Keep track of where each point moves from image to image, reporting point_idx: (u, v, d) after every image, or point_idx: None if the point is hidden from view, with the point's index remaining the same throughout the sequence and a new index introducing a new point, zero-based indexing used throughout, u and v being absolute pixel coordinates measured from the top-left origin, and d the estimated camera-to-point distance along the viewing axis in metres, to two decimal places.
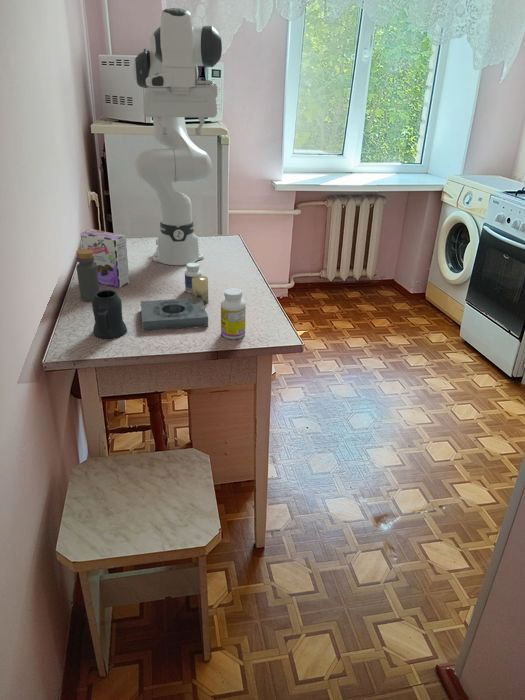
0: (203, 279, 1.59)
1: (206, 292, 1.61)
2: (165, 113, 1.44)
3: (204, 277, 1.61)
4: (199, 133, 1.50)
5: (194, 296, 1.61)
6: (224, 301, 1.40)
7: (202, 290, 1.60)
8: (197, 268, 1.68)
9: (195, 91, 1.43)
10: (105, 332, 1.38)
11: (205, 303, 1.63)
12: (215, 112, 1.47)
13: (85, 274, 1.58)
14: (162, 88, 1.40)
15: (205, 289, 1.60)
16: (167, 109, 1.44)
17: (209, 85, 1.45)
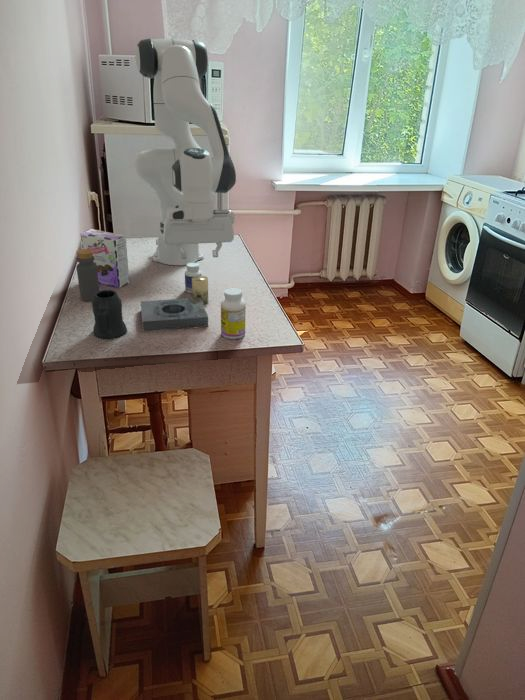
0: (203, 279, 1.59)
1: (206, 292, 1.61)
2: (184, 241, 1.52)
3: (204, 277, 1.61)
4: (216, 256, 1.57)
5: (194, 296, 1.61)
6: (224, 301, 1.40)
7: (202, 290, 1.60)
8: (197, 268, 1.68)
9: (213, 220, 1.51)
10: (105, 332, 1.38)
11: (205, 303, 1.63)
12: (232, 237, 1.55)
13: (85, 274, 1.58)
14: (182, 220, 1.48)
15: (205, 289, 1.60)
16: (187, 237, 1.51)
17: (226, 214, 1.52)
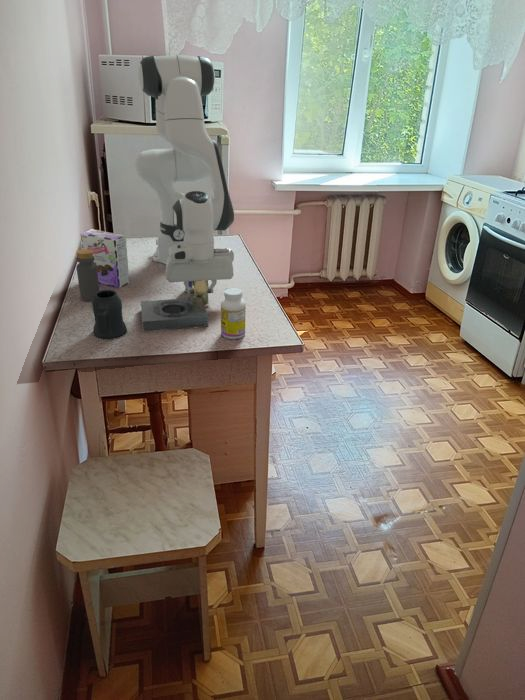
0: None
1: (206, 292, 1.61)
2: (186, 279, 1.58)
3: None
4: (211, 292, 1.63)
5: (194, 296, 1.61)
6: (224, 301, 1.40)
7: (202, 290, 1.60)
8: None
9: (214, 259, 1.57)
10: (105, 332, 1.38)
11: (205, 303, 1.62)
12: (232, 275, 1.60)
13: (85, 274, 1.58)
14: (184, 260, 1.54)
15: (205, 289, 1.60)
16: (188, 275, 1.57)
17: (226, 252, 1.58)
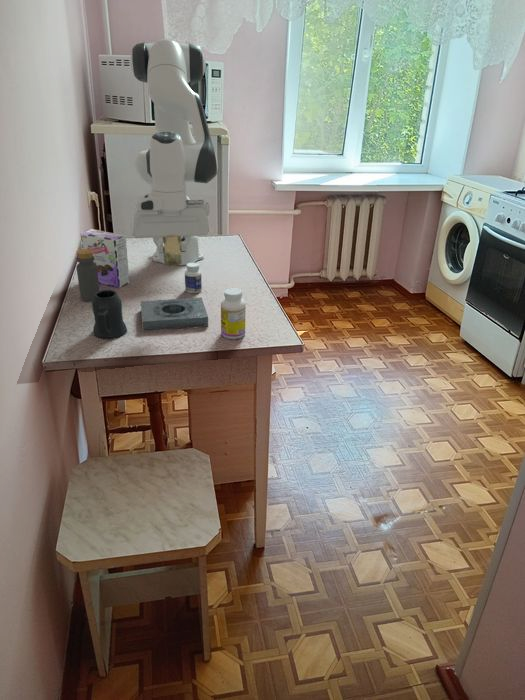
0: None
1: (179, 250, 1.43)
2: (155, 234, 1.39)
3: None
4: (185, 250, 1.44)
5: (165, 255, 1.43)
6: (224, 301, 1.40)
7: (174, 248, 1.42)
8: (197, 268, 1.68)
9: (186, 212, 1.39)
10: (105, 332, 1.38)
11: (178, 263, 1.44)
12: (207, 230, 1.42)
13: (85, 274, 1.58)
14: (152, 211, 1.36)
15: (177, 246, 1.42)
16: (158, 230, 1.39)
17: (201, 204, 1.40)
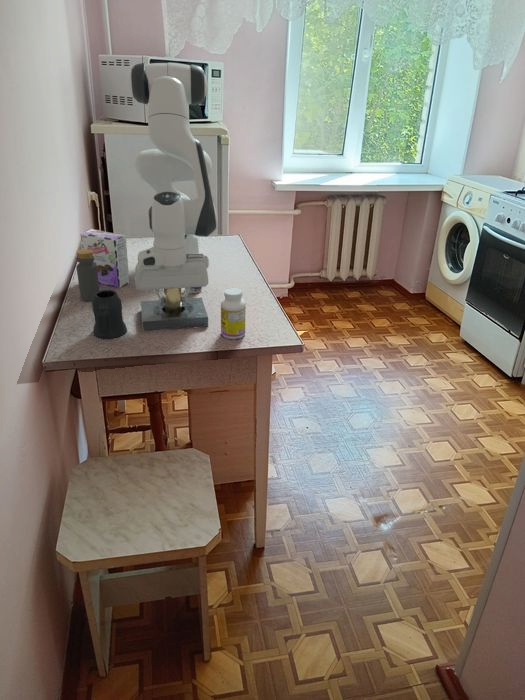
0: None
1: (179, 301, 1.50)
2: (156, 287, 1.46)
3: None
4: (185, 300, 1.51)
5: (166, 305, 1.50)
6: (224, 301, 1.40)
7: (174, 299, 1.48)
8: None
9: (186, 265, 1.45)
10: (105, 332, 1.38)
11: (178, 312, 1.51)
12: (206, 282, 1.49)
13: (85, 274, 1.58)
14: (154, 266, 1.42)
15: (178, 297, 1.49)
16: (159, 282, 1.46)
17: (200, 258, 1.47)
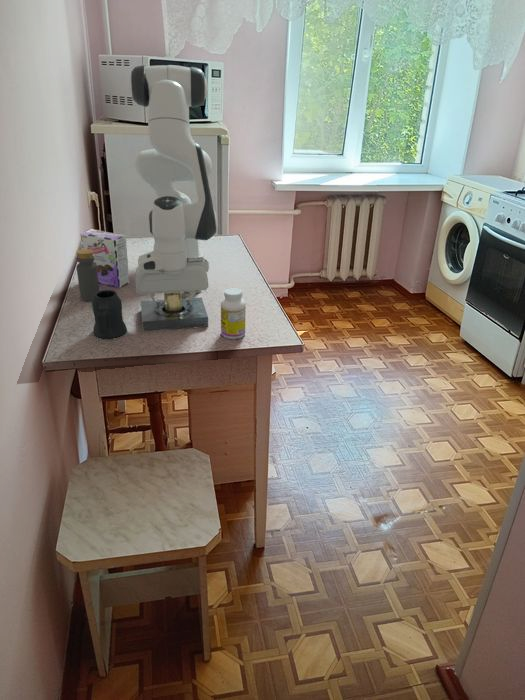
0: (176, 294, 1.49)
1: (180, 308, 1.51)
2: (157, 290, 1.47)
3: None
4: (190, 304, 1.52)
5: (166, 312, 1.51)
6: (224, 301, 1.40)
7: (174, 306, 1.49)
8: None
9: (186, 269, 1.46)
10: (105, 332, 1.38)
11: None
12: (206, 286, 1.50)
13: (85, 274, 1.58)
14: (154, 270, 1.43)
15: (178, 304, 1.50)
16: (159, 286, 1.46)
17: (200, 262, 1.47)
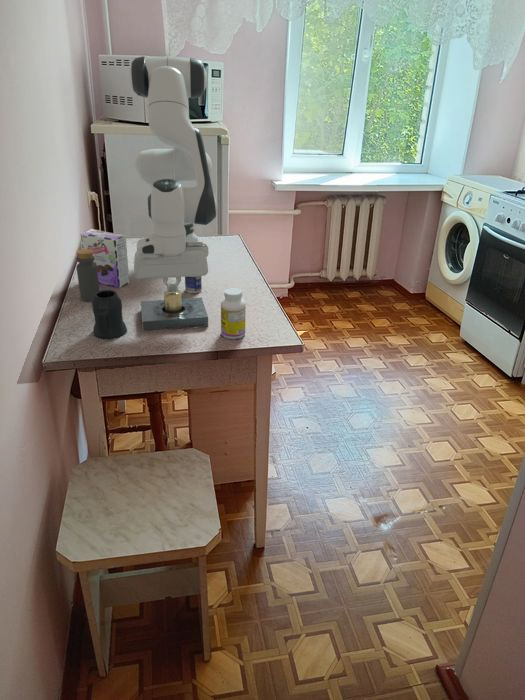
0: (176, 294, 1.49)
1: (179, 307, 1.51)
2: (156, 275, 1.45)
3: None
4: (176, 290, 1.49)
5: (166, 312, 1.51)
6: (224, 301, 1.40)
7: (174, 306, 1.49)
8: None
9: (186, 254, 1.44)
10: (105, 332, 1.38)
11: None
12: (206, 271, 1.47)
13: (85, 274, 1.58)
14: (153, 254, 1.41)
15: (178, 304, 1.50)
16: (158, 271, 1.44)
17: (200, 246, 1.45)
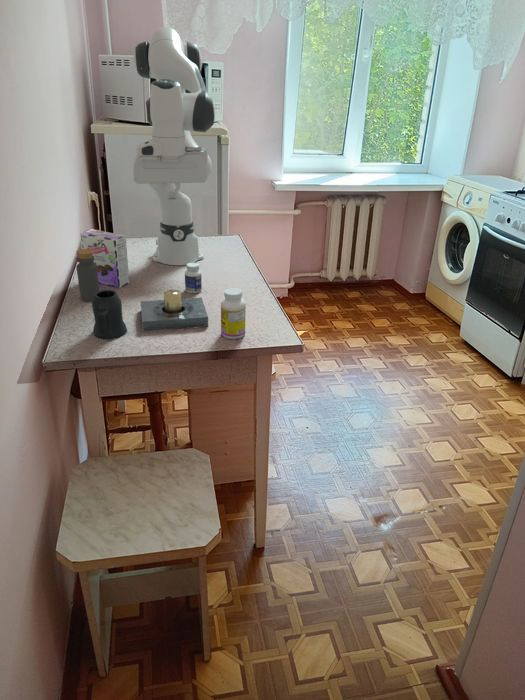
0: (176, 294, 1.49)
1: (179, 307, 1.51)
2: (155, 180, 1.45)
3: (177, 291, 1.51)
4: (175, 197, 1.50)
5: (166, 311, 1.51)
6: (224, 301, 1.40)
7: (174, 305, 1.49)
8: (197, 268, 1.68)
9: (185, 158, 1.44)
10: (105, 332, 1.38)
11: None
12: (205, 177, 1.48)
13: (85, 274, 1.58)
14: (152, 157, 1.41)
15: (178, 304, 1.50)
16: (158, 176, 1.45)
17: (199, 152, 1.46)
